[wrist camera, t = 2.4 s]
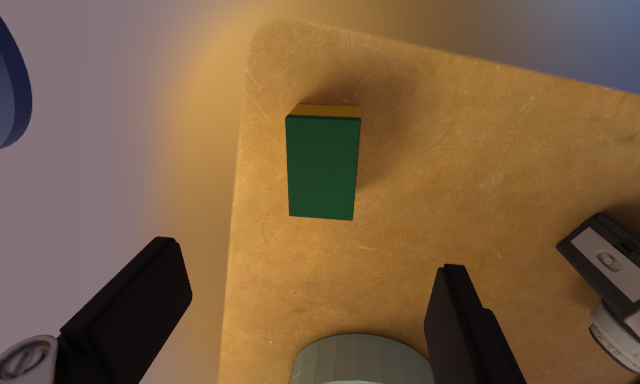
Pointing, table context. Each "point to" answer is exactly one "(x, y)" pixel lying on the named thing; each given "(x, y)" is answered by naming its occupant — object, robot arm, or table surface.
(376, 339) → the bowl
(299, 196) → the sponge
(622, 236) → the camera
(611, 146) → the table surface
